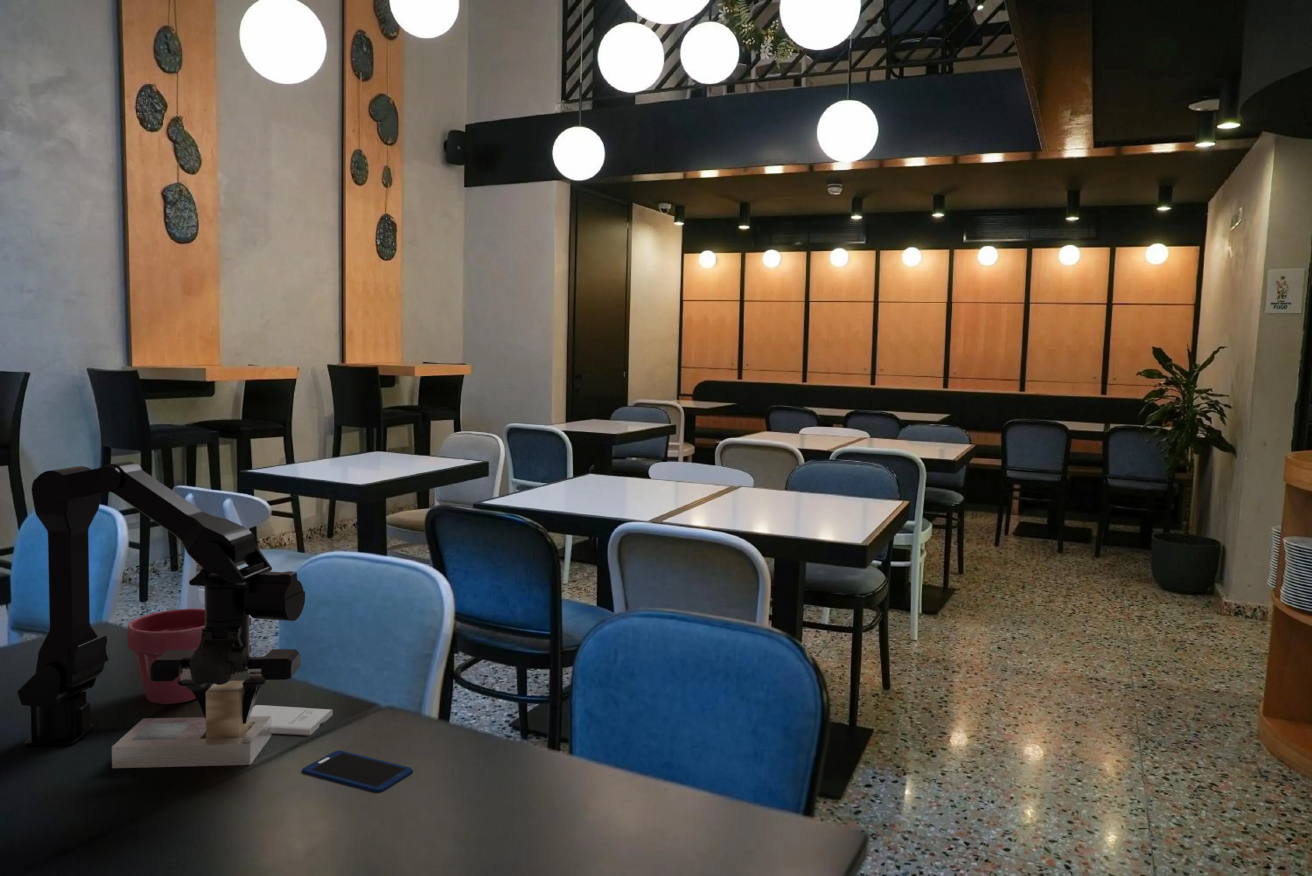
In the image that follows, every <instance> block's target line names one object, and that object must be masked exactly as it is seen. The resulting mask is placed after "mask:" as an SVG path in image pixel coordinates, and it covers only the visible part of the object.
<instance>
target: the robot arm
mask: <svg viewBox="0 0 1312 876" xmlns="http://www.w3.org/2000/svg"><path fill="white" fill-rule="evenodd" d="M30 489H31V496H32V501H33V507H34V512H35V515H36V517H37V518H38V519H39V521H40V523H42V525H43V527H44V528H45V530H46V533H47V554H48V555H47V557H48V558H47V559H48V562H47V563H48V607H49V608H48V611H49V612H48V615H49V618H48V620H49V628H48V632H47V634H46V635H45V637H44V640H43V642H42V644H41V645H40V648H39V649H38V651H37V652H38V653H37V659H36V665H35V672H34V674H33V675H32V676H31V677H30V679H28V680H27V681H26V682H25V683H24V684H23V685H22V686H21V687H20V688H19V689H18V690H17V695H18V698H19V701H20V704H21V705H22V706H24V707H25V706H26V707H28V706H29V709H30V710H29V711H30V712H29V713H30V738H27V740H25V741H24V746H26V747H28V746H32V747H33V746H68V745H73V744H75V743H76V742H77V741H79V740H80V739H81V738H82V737H83V736H85V735H86V734H87V733H88V732H90V731H91V730H92V729H93V728H94V726H93V724H92V723H91V722H92V721H91V703H90V702H89V701H87V691H86V690H89V689H91V688H94V685H95V683H96V681H97V678H98V676H99V675H100V674H101V673H102V672H103V670H104V667H105V663H106V662H108V661H109V656H108V654H107V644H108V637H107V635H105V634H101V635H98V634H97V632H96V631H95V630H94V629H93V627H92V626H91V617H90V615H91V614H90V613H91V612H90V563H89V562H90V558H89V556H90V555H89V553H90V552H89V551H90V549H89V548H90V547H89V546H90V545H89V542H90V541H89V529H90V526H91V525H92V522H93V520H94V518H95V517H96V515H97V513H98V510H99V509H100V503H101V496H102V494H106V493H107V494H108V493H112V494H114V495H116V496H117V497H119V498H120V499H121V500H123V501H124V502H126V503H127V504H128V505H130V506H131V507H134V508H135V509H136V510H137V511H138V512H140V513H142V514H143V515H144V516H146V517H148V519H151V520H152V521H154V522H155V523H156V524H158V525H159V526H161V527H162V528H163V529H165V530H166V531H168V532H170V533H171V534H173V536H175V537H176V538H177V539H178V540H180V541H181V543H182V545H183V547H184V549H185V551H186V553H187V555H188V556H189V557H190V558H191V559H193V561H194V562H196V563H197V564H198V565H199V566H200V567H201V569H200V571H199V572H198V573H197V574H196V575H195V576H194V577H193V578H191V579H190V580H188V584H189V585H190V586H194V587H195V586H196V587H204V609H205V627H204V628H203V629H202V634H201V642H200V645H199V647H198V648H197V649H196V651H195V653H194V651H193V650H168V651H167V652H165V653H164V654H163V655H161V656H160V657H159V658H158V659H156V660H155V661H154V662H153V663H152V666H151V680H152V681H174V680H175V679H176V678H177V677H178V676H179V675H180V681H179V682H178V684H179V686H185V687H187V688H188V689H190V690H191V691H192V692H193V694H194V695H195V697H196V700H197V703H198V705H199V707H200V709H201V711H202V714H203V716H204V717H205V719H206V691H207V690H208V689H209V688H210V687H211V686H212V685H213V684H216V685H222V684H225V683H227V682H229V681H231V678H232V675H236V674H237V673H238V674H239V673H241V674H242V673H245V672H247V674H248V676H247V677H246V678H245V679H244V680H243V681H244V682H243V683H242V684H243V687H244V700H243V711H242V718H243V724H246V723H247V722H248V719H249V717H250V714H251V711H252V709H253V707H254V706H255V703H256V701H257V698H258V695H259V693H260V690H261V688H262V687H263V685H266V684H267V683H268V682H269V681H285V680H289V679H292V678H293V676H294V675H295V674H296V673H297V671H299V669H300V667H301V654H300V652H299V651H298V650H297V649H296V648H280V649H279V648H278V649H277V648H276V649H275V648H273V649H270V651H269V652H268V653H267V654H266V655H265V656H250V654H251V653H252V644H250V626H251V625H252V619H255V620H270V621H286V622H287V621H288V622H294V621H297V620H298V619H299V617H300V616H301V615H302V613H303V609H304V607H305V602H306V591H305V590H304V587H303V584H302V582H301V581H300V580H298V572H297V571H293V570H292V571H273V567H272V565H271V564H270V563H269V562H268V560H267V558H266V557H265V555H264V554H263V553H262V551H261V550H260V549H259V547H258V545H257V544H256V541H255V540H256V539H255V538H256V537H255V535H254V534H253V532H252V531H250V529H249V528H247V527H245V526H242V525H240V524H238V523H236V522H235V521H232V520H229V518H228V519H227V518H224V517H219V516H215V515H213V514H209V513H207V512H204V511H203V510H201V509H200V508H199V507H197V506H196V505H194V504H192V503H191V502H190V501H189V500H187V499H185V498H183V496H181V495H179V494H178V493H176V492H175V491H174V490H172V489H171V488H169V486H166V485H165V484H163V482H160V481H159V480H157V479H156V478H155V477H153V476H152V475H150V474H149V473H147V472H146V471H144V469H143V468H142V467H141V466H140V465H139V464H138V463H135V462H133V461H121V462H115V463H109V464H106V465H104V466H103V467H98V468H93V469H91V468H90V467H88V466H84V465H79V466H71V467H65V468H59V469H52V470H46V471H44V472H42V473H40V474H38V476H37V477H35V478H34V479H33V481H32V483H31V488H30ZM245 564H246V565H247V566H244V567H242V568H238V567H241V566H242V565H245Z"/></svg>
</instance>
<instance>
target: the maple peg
mask: <svg viewBox="0 0 1312 876" xmlns="http://www.w3.org/2000/svg"><path fill="white" fill-rule="evenodd" d="M244 681H245V680H229V682H227V683H225V684H222V685H216V684H213V685H212V686H211V687H210V688H209V689H208V690H207V691H206V739H215V738H243V737H244V736H245V735H246V734H247V732H248V731H249V719H248V722H247V723H246V724H243V718H242V711H243V700H244V687H243V684H242V683H243V682H244Z"/></svg>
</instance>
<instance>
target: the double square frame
mask: <svg viewBox="0 0 1312 876" xmlns="http://www.w3.org/2000/svg"><path fill="white" fill-rule="evenodd" d="M271 737H272V733H271V716H250V717H249V731H248V732H247V734H246V735H245V736H244V737H243V738H215V739H206V719H205V716H204V717H156V718H155V717H153V718H151V717H150V718H148V717H147V718H145V717H144V718H142V719H141V720H140V721H139V722H138V723H137V724H135V725H134V726H133V727H132V728H131V729H130V730H129V731H128V732H127V733H125V734H124V735H123V736H122V737H121V738H120V739H119V740H118V741H116V743H115V744H113V745H112V746H111V768H112V769H132V768H134V769H135V768H137V769H138V768H139V769H140V768H167V767H168V768H170V767H171V768H172V767H173V768H174V767H176V768H177V767H178V768H179V767H210V766H211V767H212V766H215V767H216V766H217V767H219V766H246V765H247V766H251V765H252V763H253V762H254V760H255V759H256V758H257V756H258V755H259V753H260V752H261V751H262V749H263V748H264V747H265V745H266V744H267V742H268V741H269V739H270V738H271Z"/></svg>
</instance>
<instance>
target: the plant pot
mask: <svg viewBox="0 0 1312 876" xmlns="http://www.w3.org/2000/svg"><path fill="white" fill-rule="evenodd" d="M204 627H205V608H181V609H180V608H179V609H169V610H164V611H158V612H153V613H149V614H145V615H143V616H139V617H137V618H134V619H133V620H131V621H129V623H128V624H127V630H126V631H127V639H126V640H127V648H128V649H129V650H130V651H132V652H134V656H135V659H136V663H137V668H138V672H139V676H140V678H141V682H142V685H143V689H144V692H145V697H146V699H147V700H148V701H149V702H151V703H154V704H163V705H164V704H167V705H168V704H171V705H172V704H179V703H185V702H189V701H193V700H195V699H196V697H195V695H194V694H193V692H192V691H191V690H190V689H188V688H187V687H185V686H179V684H178V682H179V681H180V675H179V676H178V677H177V678H176V679H175V680H174V681H152V680H151V666H152V663H153V662H154V661H155V660H156V659H158V658H159V657H160V656H161V655H163V654H164V653H165V652H167V651H168V650H193V651H194V653H195V651H196V649H197V648H198V647H199V645H200V642H201V634H202V629H203V628H204ZM196 700H197V699H196Z"/></svg>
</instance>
